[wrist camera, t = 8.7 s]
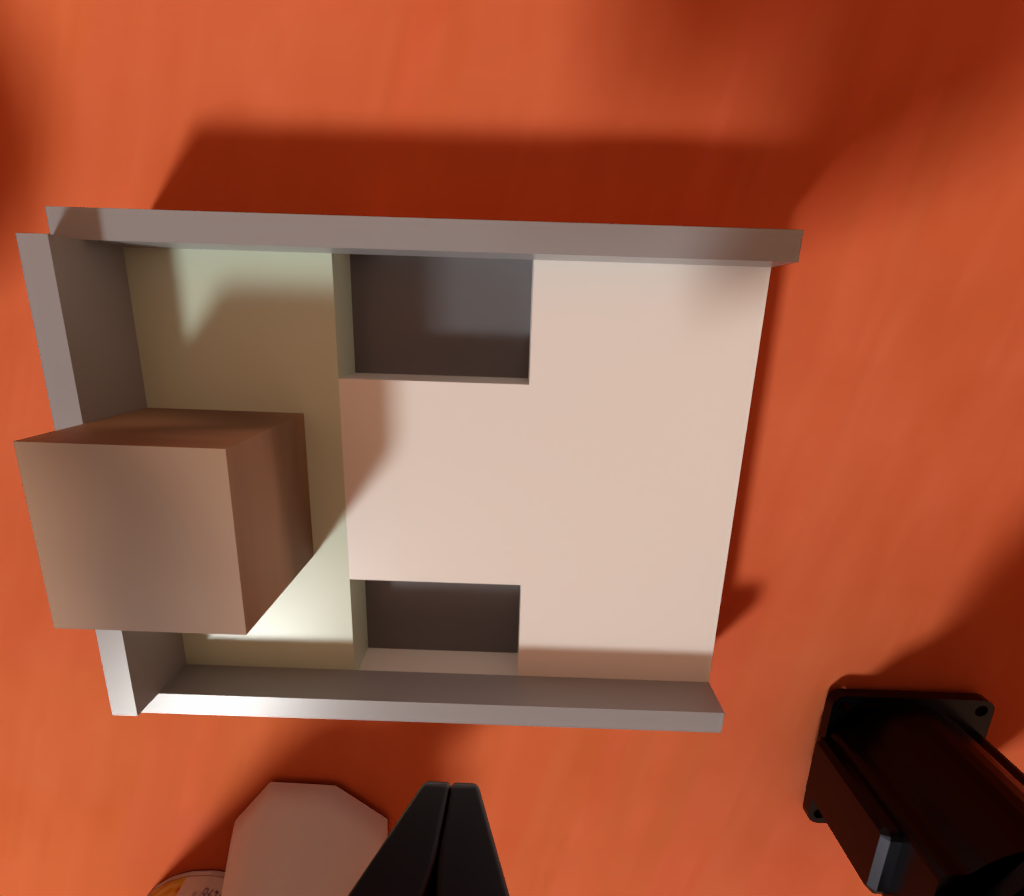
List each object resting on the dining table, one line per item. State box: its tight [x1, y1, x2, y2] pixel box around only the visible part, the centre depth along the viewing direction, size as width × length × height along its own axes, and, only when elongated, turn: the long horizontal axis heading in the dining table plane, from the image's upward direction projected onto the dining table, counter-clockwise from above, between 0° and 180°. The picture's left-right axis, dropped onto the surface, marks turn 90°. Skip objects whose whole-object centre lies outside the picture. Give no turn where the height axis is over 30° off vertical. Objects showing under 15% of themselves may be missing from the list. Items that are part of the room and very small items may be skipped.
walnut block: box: [13, 408, 314, 635], centre depth 15 cm, size 5×5×4 cm
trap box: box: [16, 206, 803, 733], centre depth 17 cm, size 20×16×4 cm
